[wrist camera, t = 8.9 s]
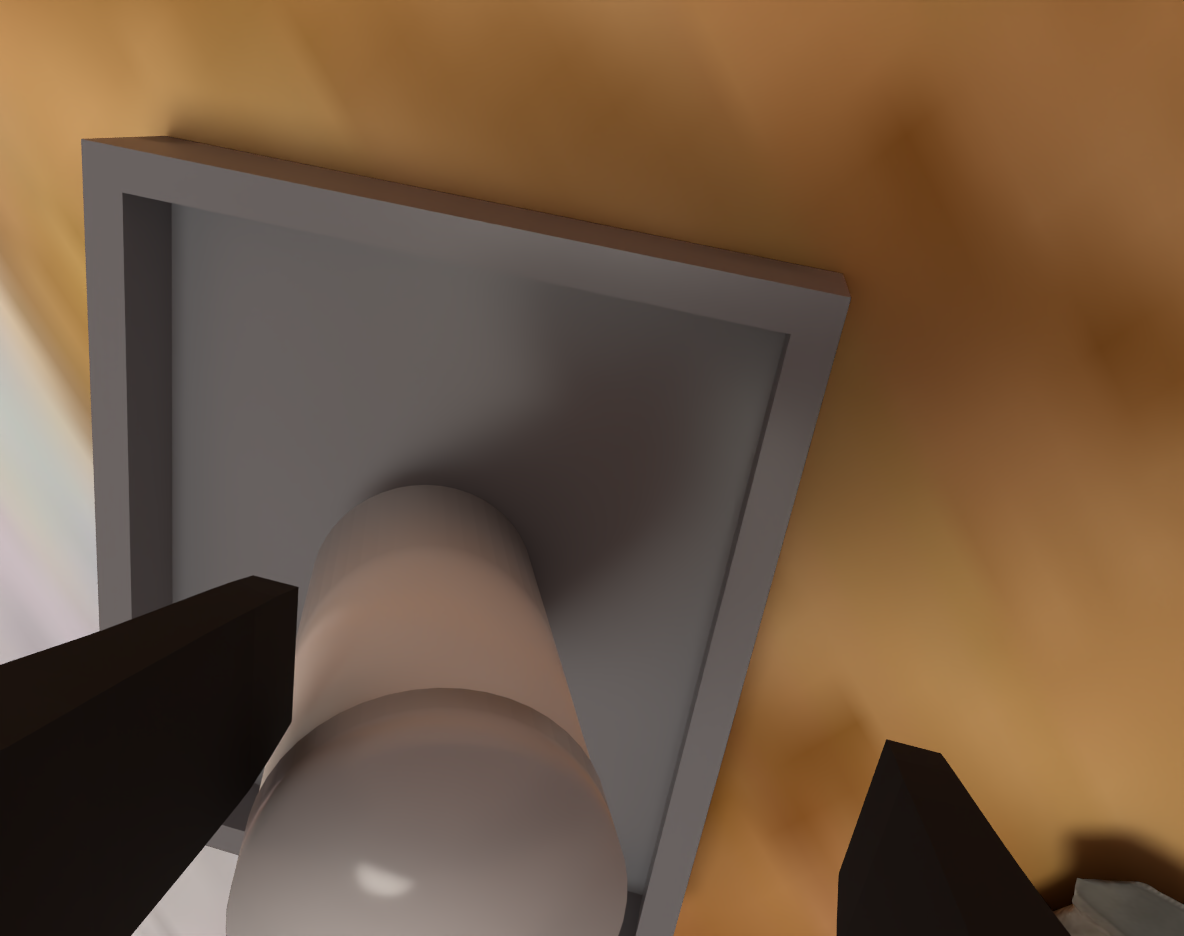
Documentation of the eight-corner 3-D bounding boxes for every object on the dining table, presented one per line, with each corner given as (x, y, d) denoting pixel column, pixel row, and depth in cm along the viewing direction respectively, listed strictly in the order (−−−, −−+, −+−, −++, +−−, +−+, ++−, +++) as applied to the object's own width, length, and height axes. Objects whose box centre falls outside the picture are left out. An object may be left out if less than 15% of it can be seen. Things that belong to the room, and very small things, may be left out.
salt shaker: (553, 498, 20) (665, 759, 11) (513, 695, 21) (585, 1065, 12) (323, 467, 19) (248, 728, 10) (295, 676, 20) (208, 1068, 11)
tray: (842, 273, 18) (850, 297, 15) (672, 897, 24) (660, 980, 21) (165, 136, 19) (81, 138, 17) (168, 752, 25) (106, 816, 23)
